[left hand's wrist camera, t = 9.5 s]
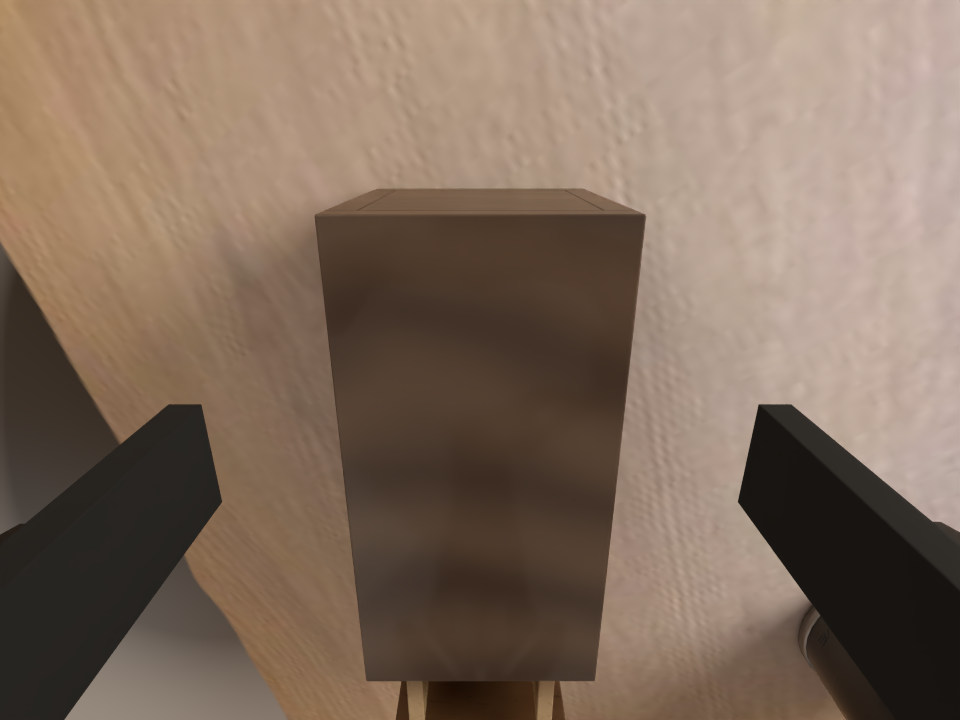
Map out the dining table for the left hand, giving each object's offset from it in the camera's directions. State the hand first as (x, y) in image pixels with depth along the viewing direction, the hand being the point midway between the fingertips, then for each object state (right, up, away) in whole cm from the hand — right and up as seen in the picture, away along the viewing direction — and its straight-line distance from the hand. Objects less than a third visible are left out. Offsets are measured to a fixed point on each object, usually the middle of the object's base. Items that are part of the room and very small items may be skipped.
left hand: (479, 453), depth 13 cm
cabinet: (0, +1, +18) cm, 18 cm away
